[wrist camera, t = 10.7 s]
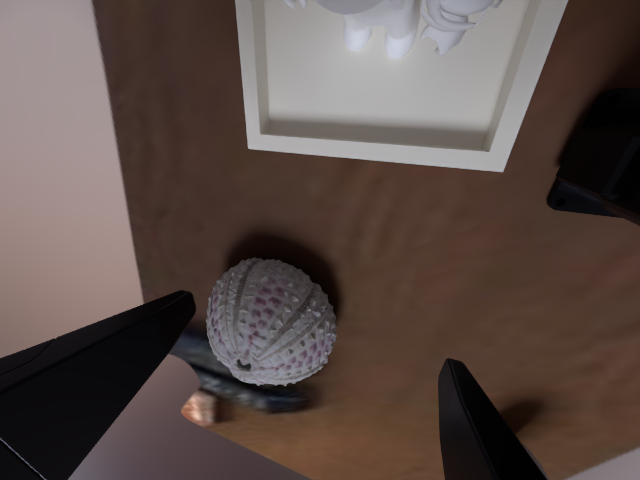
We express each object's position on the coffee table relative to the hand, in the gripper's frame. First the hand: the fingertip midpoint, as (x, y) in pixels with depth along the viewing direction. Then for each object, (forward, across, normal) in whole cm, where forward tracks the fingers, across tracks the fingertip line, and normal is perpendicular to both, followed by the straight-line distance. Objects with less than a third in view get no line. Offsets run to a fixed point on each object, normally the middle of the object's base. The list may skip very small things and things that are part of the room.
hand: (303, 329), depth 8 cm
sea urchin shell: (+13, +7, +12) cm, 19 cm away
